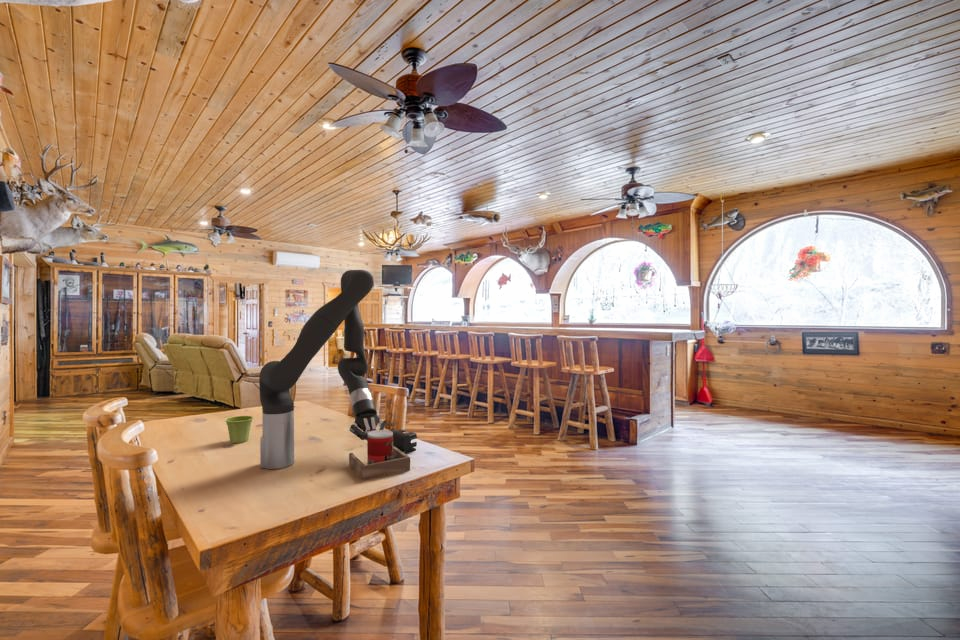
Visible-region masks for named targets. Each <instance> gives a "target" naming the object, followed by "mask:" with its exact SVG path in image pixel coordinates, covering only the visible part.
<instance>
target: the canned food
mask: <svg viewBox="0 0 960 640" xmlns="http://www.w3.org/2000/svg"><path fill="white" fill-rule="evenodd" d="M389 430H390V429H389ZM389 430H388V429H383V430H379V429H376V430H375V431H371V432H369V433H368V436H367V440H366V441H367V443H366V447H367V451H366V452H367V464H372V463H378V462H383V461H388V460H393V432H392V431H389Z"/></svg>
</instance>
